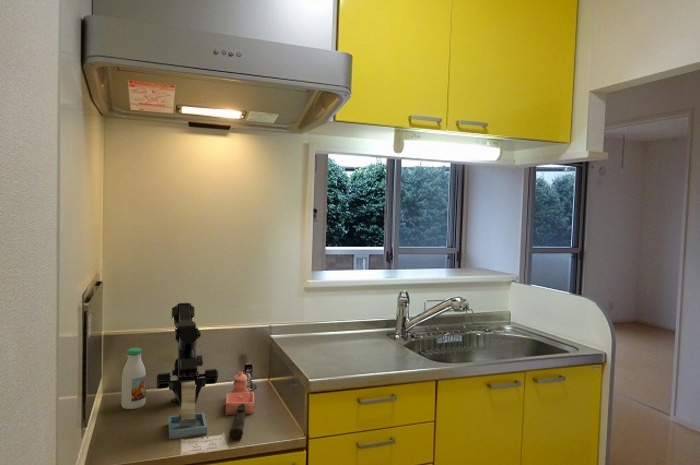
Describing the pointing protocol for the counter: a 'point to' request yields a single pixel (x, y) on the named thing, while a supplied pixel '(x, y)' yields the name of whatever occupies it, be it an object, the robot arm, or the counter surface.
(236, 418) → the hand tool
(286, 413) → the counter surface
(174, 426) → the tray
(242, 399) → the pottery
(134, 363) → the milk bottle
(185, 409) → the beige pillar on base
